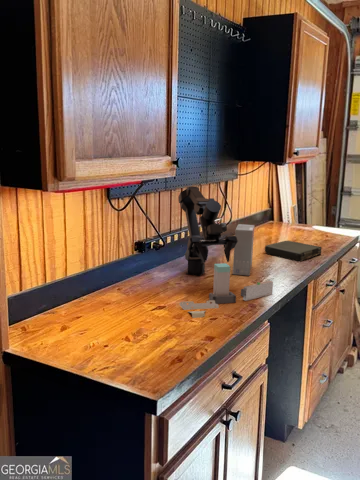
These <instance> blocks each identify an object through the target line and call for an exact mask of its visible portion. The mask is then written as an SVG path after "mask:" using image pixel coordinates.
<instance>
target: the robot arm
mask: <svg viewBox="0 0 360 480" xmlns="http://www.w3.org/2000/svg"><path fill="white" fill-rule="evenodd" d="M177 199H178V204H179V205H180V208H181V209H182V211H184V213H185V218H186V225H187V230H188V235H189V239H188V241H187V243H186V244H187V248H186V251H185V253H184V258H185V260H186V261H187V272H185V275H192V276H202V275H203V274H205V271H206V261H207V259H208V254H209V248H208V246H223V248H224V249H223V251H224V254H225V255H224V256H225V258H226V262H227V263H229V262H230V257H231V251H232V250H234V247H235V245H236V244H237V242H238V240H237V237H236V236H235V235H225V238H223V239H220V238H221V236H222V234H223V233H226V232H227V229H228V227H227V224H226V222H221V223H216V219H218V216H219V215H220V211H221V209H222V206H221V204H220V202H218V201H217V200H215V197H213V198H212V197H211V198H206V197H205V196H204V195H203V193H202V192H201V190H200V188H199V187H198V186H187V187H186V188H185V189H183V190H182V191H180V193H179V195H178V198H177ZM197 216H200V217H199V222H198V218H197ZM199 225H200V226H199ZM199 227H200V228H201V233H200V228H199ZM201 236H202V237H201Z"/></svg>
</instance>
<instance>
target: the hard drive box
mask: <svg viewBox="0 0 360 480" xmlns="http://www.w3.org/2000/svg"><path fill="white" fill-rule="evenodd" d="M254 234H255V224H243V223H242V224H241V223H239V224H237V226H236V228H235V230H234V236H236V237H237V240H238V242H237V244H236V245H235V247H234V248H233V257H232V258H233V261H232V275H237V276H251V272H252V268H253V257H254V256H253V253H254V239H255V237H254V236H255V235H254Z"/></svg>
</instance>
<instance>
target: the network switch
mask: <svg viewBox="0 0 360 480" xmlns="http://www.w3.org/2000/svg"><path fill="white" fill-rule="evenodd" d="M264 252H265V253H266V255H269V256H272V257H277V258H278V257H279V258H282V259H286V260H290V261H295V262H298V263H299V262H302V261H304V260H308V259H310V258H313V257H316V256H321V254H322V246H318V245H314V244H307V243H303V242H296V241H292V240H283V241H278V242H276V243H275V242H274V243H270V244H267V245H265V247H264Z"/></svg>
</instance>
